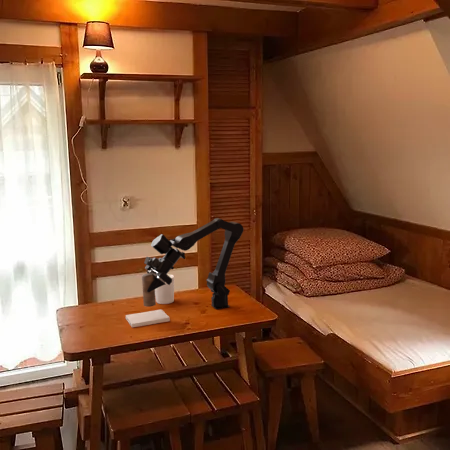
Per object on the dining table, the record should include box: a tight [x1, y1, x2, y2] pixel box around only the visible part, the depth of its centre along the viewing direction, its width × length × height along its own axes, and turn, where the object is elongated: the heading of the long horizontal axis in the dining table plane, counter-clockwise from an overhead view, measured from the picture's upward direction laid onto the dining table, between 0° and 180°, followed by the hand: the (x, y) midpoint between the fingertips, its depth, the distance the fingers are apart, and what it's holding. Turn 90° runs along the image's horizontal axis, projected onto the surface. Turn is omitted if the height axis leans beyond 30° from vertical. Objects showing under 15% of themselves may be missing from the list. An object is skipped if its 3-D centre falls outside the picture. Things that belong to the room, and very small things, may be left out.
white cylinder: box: [155, 273, 175, 305], centre depth 250 cm, size 10×10×12 cm
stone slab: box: [125, 309, 171, 328], centre depth 227 cm, size 16×12×2 cm
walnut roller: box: [141, 272, 157, 308], centre depth 224 cm, size 5×5×13 cm
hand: (145, 290), depth 223 cm, fingers closed on walnut roller, 5 cm apart
